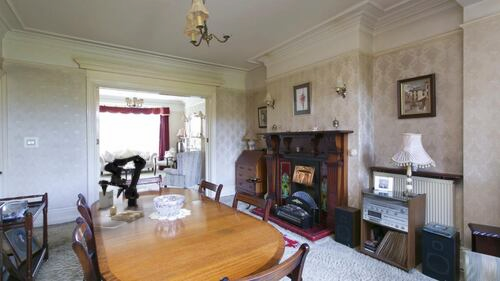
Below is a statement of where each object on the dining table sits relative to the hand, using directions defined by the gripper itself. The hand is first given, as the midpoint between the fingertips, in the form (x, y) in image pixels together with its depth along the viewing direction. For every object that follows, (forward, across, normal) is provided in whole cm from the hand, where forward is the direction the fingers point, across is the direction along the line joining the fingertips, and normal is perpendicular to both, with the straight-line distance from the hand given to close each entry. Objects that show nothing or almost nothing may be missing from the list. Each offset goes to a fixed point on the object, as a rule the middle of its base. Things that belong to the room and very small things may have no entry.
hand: (110, 197), depth 170 cm
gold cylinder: (+11, +6, +2) cm, 12 cm away
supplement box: (+4, +13, +29) cm, 32 cm away
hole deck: (+13, +9, -12) cm, 20 cm away
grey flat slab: (+12, +6, +2) cm, 13 cm away
